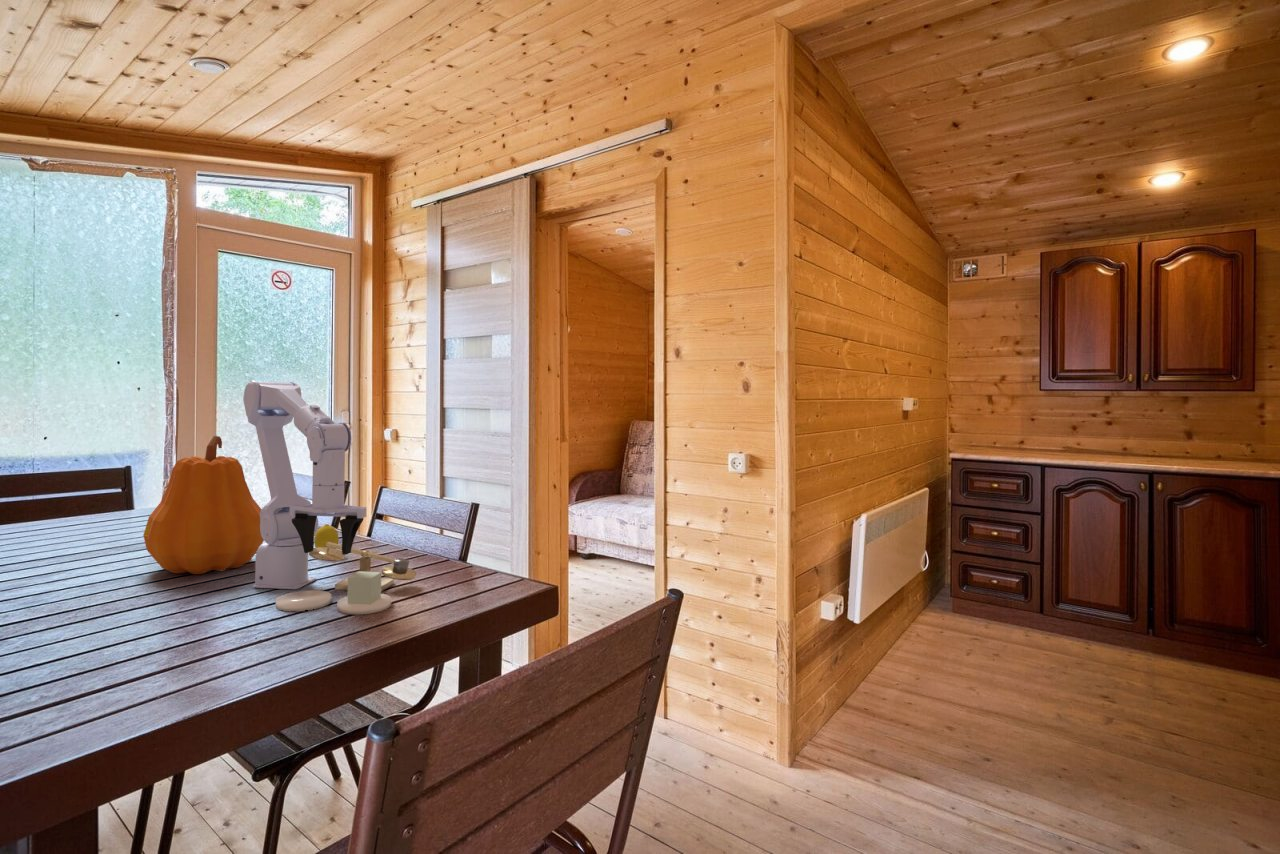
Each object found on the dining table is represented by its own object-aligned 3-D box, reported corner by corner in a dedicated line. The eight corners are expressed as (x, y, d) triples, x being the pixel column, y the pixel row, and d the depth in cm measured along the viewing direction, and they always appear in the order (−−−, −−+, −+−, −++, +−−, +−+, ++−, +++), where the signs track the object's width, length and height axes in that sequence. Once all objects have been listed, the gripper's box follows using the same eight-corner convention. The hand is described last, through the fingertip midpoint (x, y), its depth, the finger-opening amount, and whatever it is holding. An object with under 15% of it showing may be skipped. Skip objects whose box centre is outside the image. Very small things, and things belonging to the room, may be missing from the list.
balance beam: (302, 555, 138) (305, 541, 138) (319, 547, 145) (322, 534, 145) (408, 582, 137) (411, 568, 137) (420, 573, 144) (423, 560, 144)
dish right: (327, 613, 123) (327, 606, 123) (352, 597, 133) (352, 592, 133) (378, 615, 123) (378, 609, 123) (399, 600, 133) (399, 594, 133)
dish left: (264, 610, 124) (264, 603, 124) (293, 595, 133) (293, 589, 133) (314, 612, 123) (315, 606, 123) (340, 597, 133) (340, 591, 133)
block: (347, 603, 126) (347, 577, 126) (358, 596, 130) (358, 571, 130) (370, 604, 126) (371, 578, 125) (380, 597, 130) (381, 572, 130)
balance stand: (334, 589, 138) (335, 559, 138) (348, 581, 144) (349, 553, 144) (381, 591, 138) (382, 561, 138) (393, 583, 144) (394, 555, 144)
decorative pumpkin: (168, 556, 160) (168, 432, 159) (277, 553, 166) (278, 434, 165) (122, 583, 137) (122, 439, 136) (250, 578, 144) (251, 441, 143)
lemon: (328, 559, 163) (329, 526, 162) (309, 557, 164) (309, 525, 164) (343, 554, 168) (343, 522, 168) (323, 552, 169) (324, 521, 169)
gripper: (280, 485, 127) (280, 555, 127) (355, 488, 126) (354, 559, 127) (301, 480, 134) (300, 547, 134) (371, 483, 133) (370, 550, 134)
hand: (327, 552), depth 131 cm, fingers open, 7 cm apart
